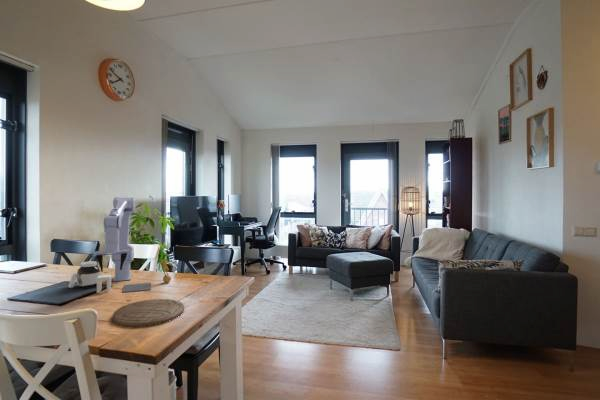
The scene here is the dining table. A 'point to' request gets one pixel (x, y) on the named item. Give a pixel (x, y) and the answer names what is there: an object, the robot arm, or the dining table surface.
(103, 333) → the dining table surface
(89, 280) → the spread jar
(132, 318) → the trivet
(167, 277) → the figurine
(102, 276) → the stool
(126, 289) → the mat
